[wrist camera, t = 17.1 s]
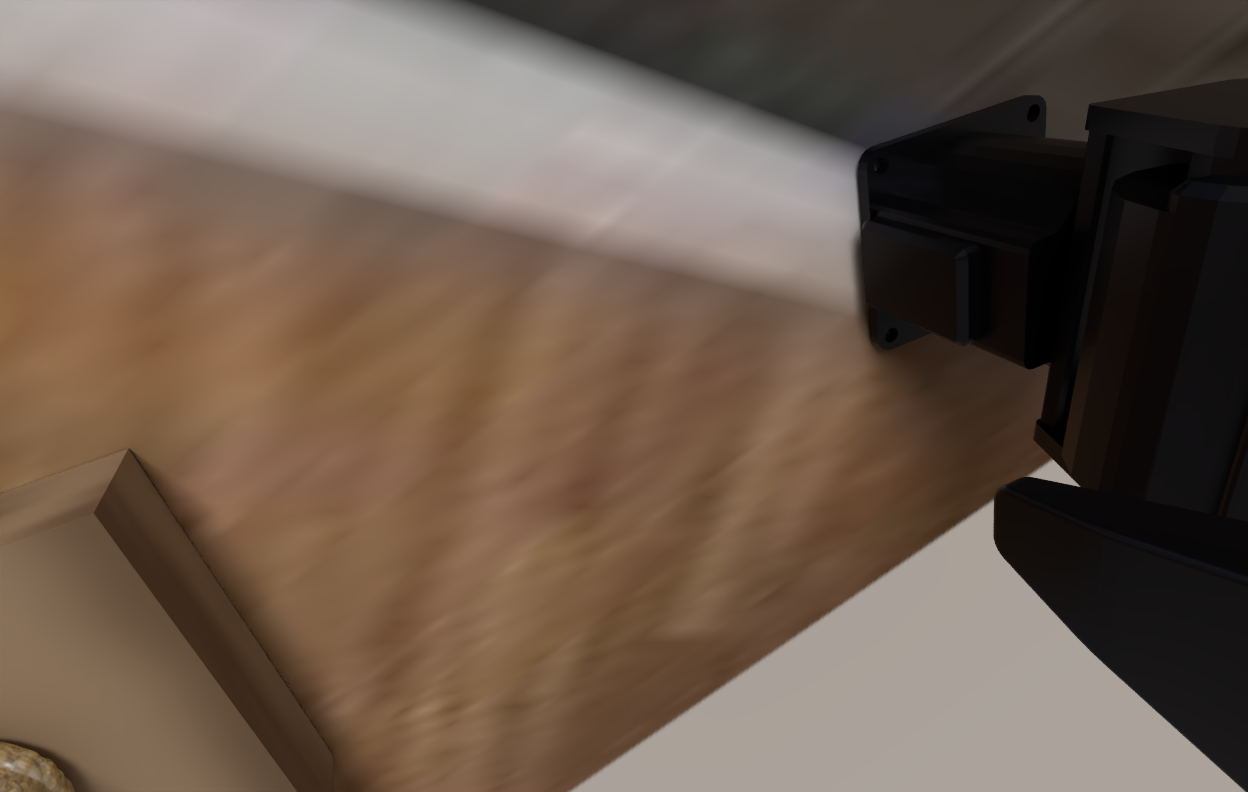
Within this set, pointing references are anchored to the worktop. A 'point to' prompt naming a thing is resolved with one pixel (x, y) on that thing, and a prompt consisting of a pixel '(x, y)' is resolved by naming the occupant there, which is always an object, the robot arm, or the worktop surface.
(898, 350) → the worktop surface
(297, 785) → the walnut block
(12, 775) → the sprinkles bottle
